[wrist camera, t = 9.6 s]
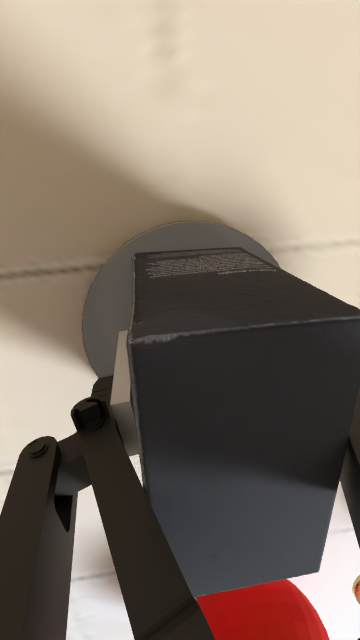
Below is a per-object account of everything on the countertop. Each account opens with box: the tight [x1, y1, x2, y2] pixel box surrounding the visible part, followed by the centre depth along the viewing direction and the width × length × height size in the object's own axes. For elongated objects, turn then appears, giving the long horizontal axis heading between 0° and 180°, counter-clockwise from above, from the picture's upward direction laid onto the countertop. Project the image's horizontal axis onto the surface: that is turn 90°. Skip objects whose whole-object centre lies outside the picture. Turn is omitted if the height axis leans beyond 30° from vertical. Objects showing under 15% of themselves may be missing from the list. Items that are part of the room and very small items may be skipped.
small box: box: [126, 247, 360, 597], centre depth 14 cm, size 11×6×10 cm, turn 2°
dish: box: [82, 221, 281, 378], centre depth 19 cm, size 13×13×1 cm
